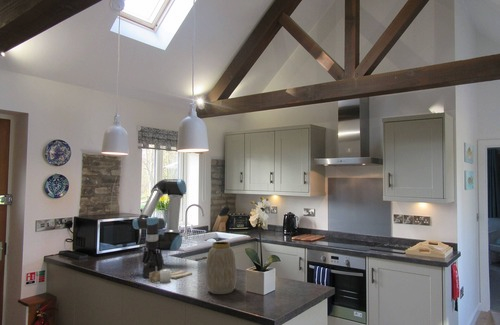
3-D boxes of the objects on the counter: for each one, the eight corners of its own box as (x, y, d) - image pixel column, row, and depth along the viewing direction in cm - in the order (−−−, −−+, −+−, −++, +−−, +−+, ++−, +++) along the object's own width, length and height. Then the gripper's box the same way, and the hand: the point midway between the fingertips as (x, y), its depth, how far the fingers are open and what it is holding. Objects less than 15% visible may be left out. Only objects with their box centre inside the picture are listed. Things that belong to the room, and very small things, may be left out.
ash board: (162, 276, 237) (162, 274, 237) (179, 271, 249) (179, 270, 249) (175, 279, 230) (175, 277, 230) (191, 274, 242) (191, 272, 242)
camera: (157, 272, 247) (157, 258, 247) (164, 275, 240) (165, 260, 240) (138, 276, 238) (139, 261, 238) (146, 279, 230) (146, 263, 231)
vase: (211, 297, 195) (211, 246, 196) (202, 288, 211) (202, 241, 212) (240, 293, 202) (240, 244, 203) (230, 285, 218) (230, 239, 219)
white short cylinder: (157, 281, 225) (157, 270, 225) (165, 279, 230) (165, 268, 231) (164, 283, 221) (164, 271, 222) (172, 281, 227) (172, 269, 227)
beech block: (149, 281, 227) (149, 273, 227) (154, 279, 232) (154, 271, 232) (156, 282, 225) (156, 273, 225) (160, 279, 230) (160, 271, 230)
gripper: (136, 239, 244) (136, 273, 242) (159, 243, 230) (159, 278, 229) (145, 238, 250) (145, 271, 249) (168, 241, 237) (168, 276, 235)
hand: (152, 274), depth 239 cm, fingers closed on camera, 10 cm apart
